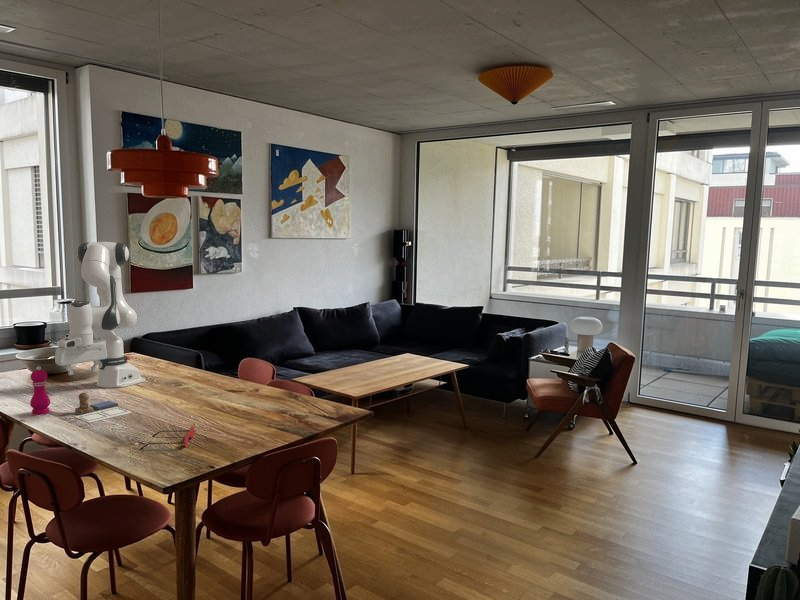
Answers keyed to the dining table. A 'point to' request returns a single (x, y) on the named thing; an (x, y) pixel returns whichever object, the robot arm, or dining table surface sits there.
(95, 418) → the print card
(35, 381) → the pepper mill
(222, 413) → the dining table surface
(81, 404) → the stamp
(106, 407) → the ink pad
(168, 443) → the glasses
